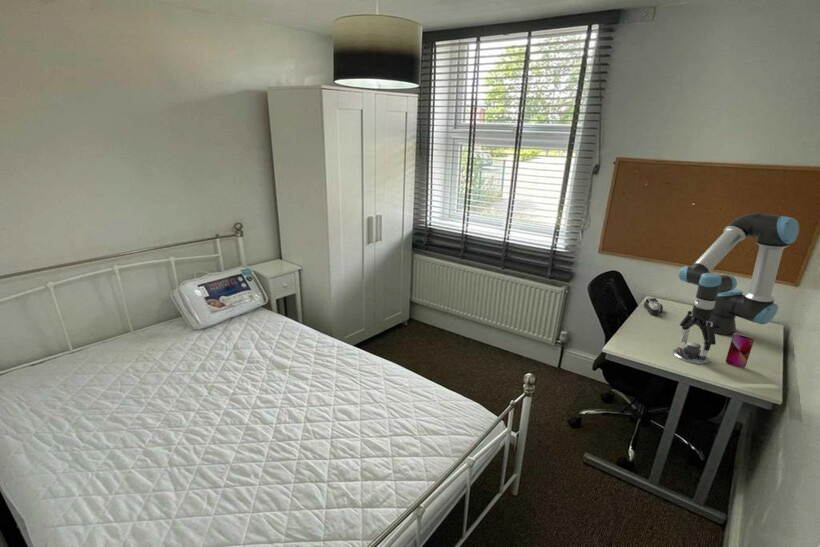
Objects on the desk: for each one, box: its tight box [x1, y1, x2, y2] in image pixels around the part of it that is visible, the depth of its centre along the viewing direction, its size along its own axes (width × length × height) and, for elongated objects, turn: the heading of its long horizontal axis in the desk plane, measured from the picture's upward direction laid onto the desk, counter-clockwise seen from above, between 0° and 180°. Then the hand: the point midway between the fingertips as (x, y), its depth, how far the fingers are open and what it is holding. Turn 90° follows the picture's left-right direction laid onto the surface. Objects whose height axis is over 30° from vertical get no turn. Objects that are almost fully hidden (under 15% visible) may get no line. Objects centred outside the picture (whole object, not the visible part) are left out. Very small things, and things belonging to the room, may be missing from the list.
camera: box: [643, 296, 664, 317], centre depth 237 cm, size 16×9×10 cm, turn 168°
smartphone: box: [725, 332, 755, 368], centre depth 180 cm, size 7×1×15 cm, turn 50°
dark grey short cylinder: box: [682, 341, 702, 359], centre depth 187 cm, size 7×6×6 cm
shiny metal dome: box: [672, 346, 709, 365], centre depth 188 cm, size 14×14×3 cm
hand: (693, 348), depth 188 cm, fingers open, 13 cm apart
